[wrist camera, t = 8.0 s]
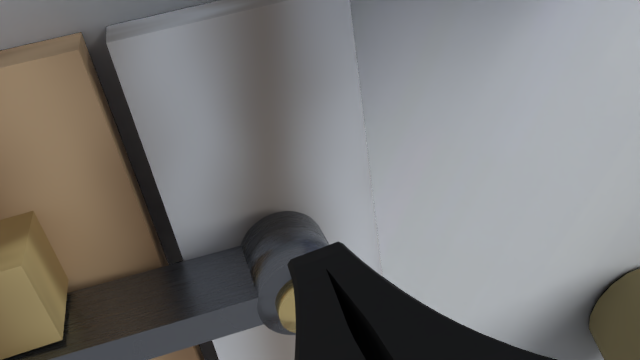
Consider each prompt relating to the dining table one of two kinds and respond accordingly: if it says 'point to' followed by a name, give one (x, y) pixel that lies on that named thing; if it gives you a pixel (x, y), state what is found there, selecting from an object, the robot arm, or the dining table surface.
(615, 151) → the dining table surface
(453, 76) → the dining table surface
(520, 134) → the dining table surface
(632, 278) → the squeeze bottle
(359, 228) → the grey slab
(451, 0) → the dining table surface
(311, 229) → the lock bar
